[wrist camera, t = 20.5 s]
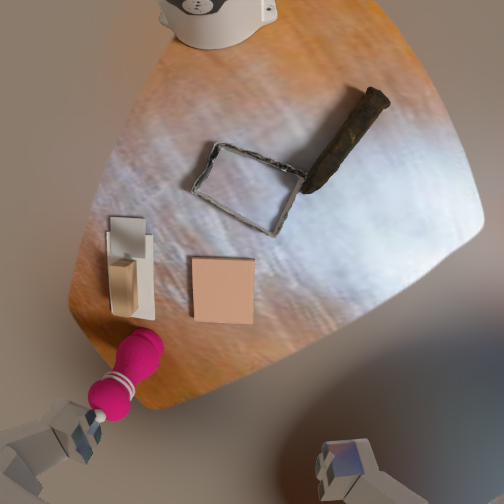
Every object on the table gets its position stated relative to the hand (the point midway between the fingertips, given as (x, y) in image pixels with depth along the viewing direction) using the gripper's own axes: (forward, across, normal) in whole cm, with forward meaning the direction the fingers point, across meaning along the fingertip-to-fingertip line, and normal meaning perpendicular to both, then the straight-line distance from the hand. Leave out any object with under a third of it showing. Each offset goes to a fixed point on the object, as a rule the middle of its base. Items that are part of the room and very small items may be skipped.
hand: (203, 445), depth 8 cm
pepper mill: (+34, +16, +19) cm, 43 cm away
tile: (+34, +8, +8) cm, 36 cm away
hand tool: (+35, -12, -15) cm, 40 cm away
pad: (+34, +18, +7) cm, 39 cm away
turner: (+33, +18, +5) cm, 39 cm away
